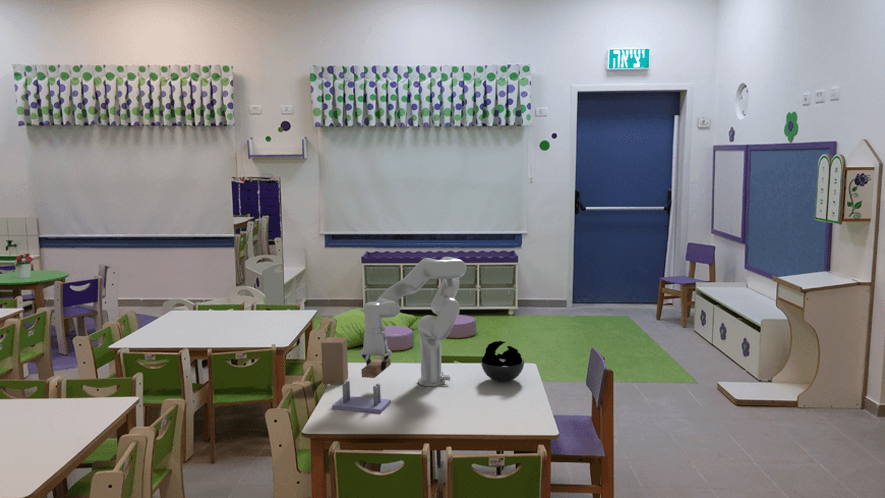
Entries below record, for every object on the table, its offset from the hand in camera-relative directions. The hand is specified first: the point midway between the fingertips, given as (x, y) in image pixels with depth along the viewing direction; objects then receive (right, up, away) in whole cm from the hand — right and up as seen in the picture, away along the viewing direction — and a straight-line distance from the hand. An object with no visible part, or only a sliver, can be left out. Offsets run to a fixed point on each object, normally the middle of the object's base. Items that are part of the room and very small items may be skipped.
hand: (376, 368), depth 309 cm
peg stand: (-5, -13, -14) cm, 20 cm away
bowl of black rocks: (+57, -9, +14) cm, 60 cm away
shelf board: (0, -1, 0) cm, 1 cm away
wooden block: (-21, -9, +19) cm, 30 cm away
